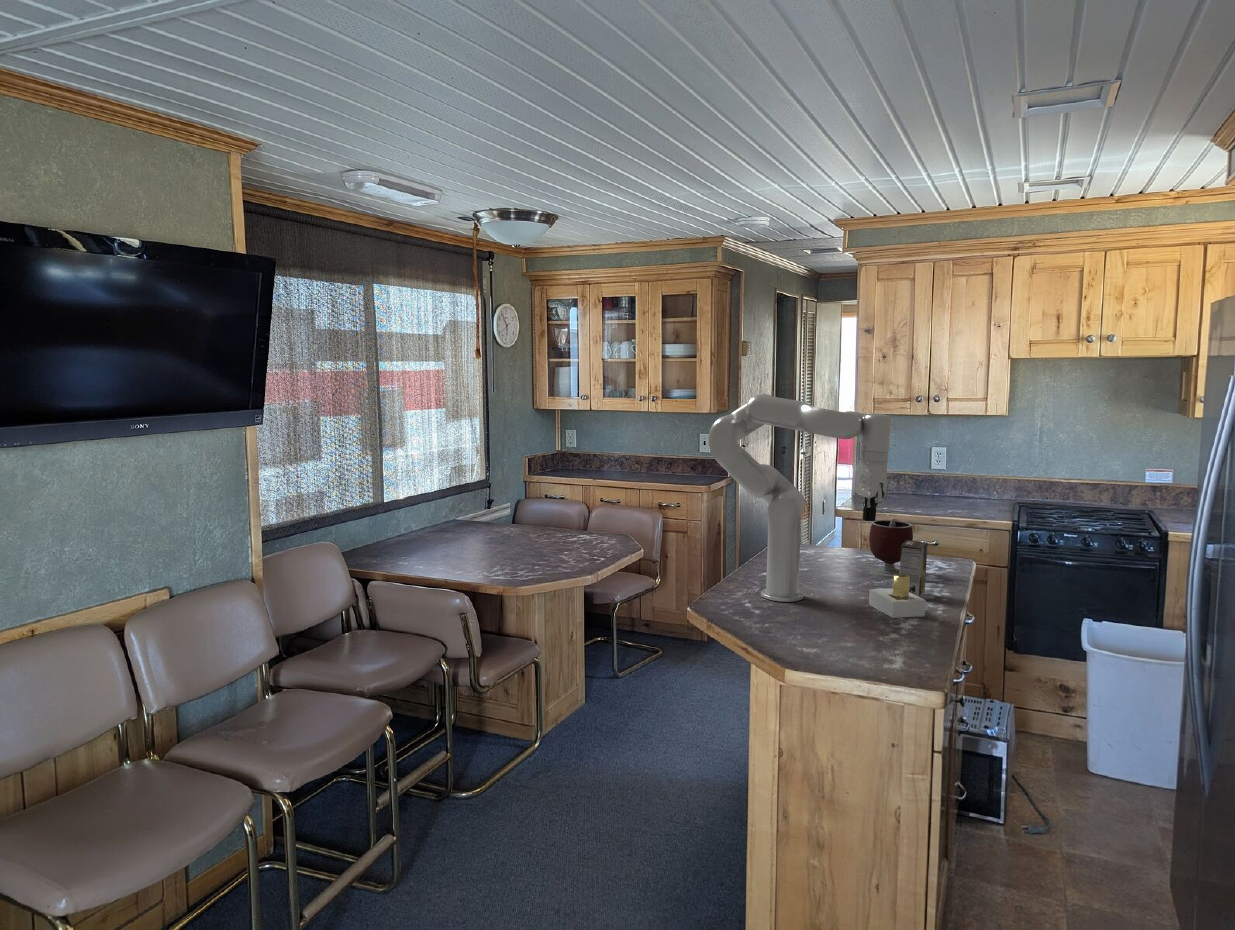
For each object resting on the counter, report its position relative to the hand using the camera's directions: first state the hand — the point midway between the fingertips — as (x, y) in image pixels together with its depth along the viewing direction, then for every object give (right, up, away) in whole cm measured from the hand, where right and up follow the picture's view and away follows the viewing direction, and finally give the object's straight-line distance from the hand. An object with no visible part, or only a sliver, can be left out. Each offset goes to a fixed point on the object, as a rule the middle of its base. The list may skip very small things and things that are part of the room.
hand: (868, 520), depth 239 cm
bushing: (+8, -24, -3) cm, 26 cm away
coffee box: (+17, -24, +15) cm, 33 cm away
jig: (+7, -26, -1) cm, 27 cm away
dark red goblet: (+19, -21, +40) cm, 49 cm away
